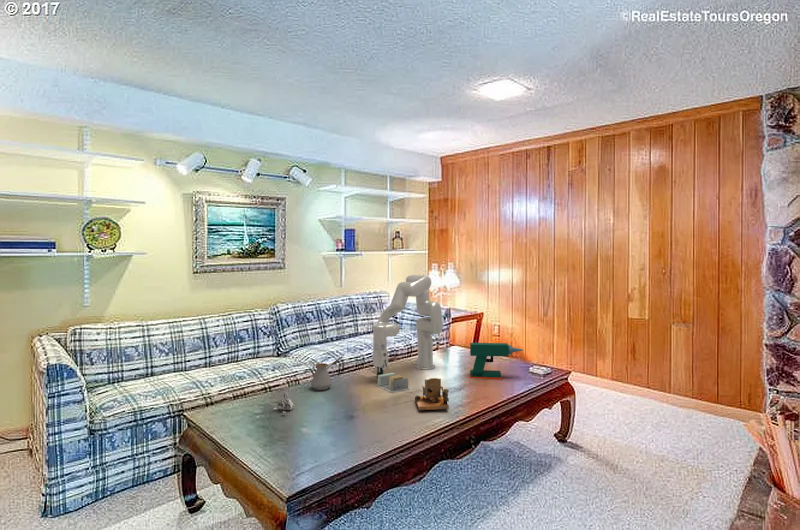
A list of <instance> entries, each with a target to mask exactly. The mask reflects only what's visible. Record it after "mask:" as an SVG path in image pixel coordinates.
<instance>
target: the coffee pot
mask: <svg viewBox="0 0 800 530" xmlns="http://www.w3.org/2000/svg"><path fill="white" fill-rule="evenodd" d="M341 359H342V360H345V357H344V356H340V357H338V358H337V359H335V360H334V361H333V362H332V363H331V364H329V365H328V363H322V362H320V363H316V364H315V367H316V370H315V372H314V374H313V377H312V379H311V382H310V385H311V387H312V388H313V389H314V390H316V391H326V390H327V389H329V388H330V387H331V386H332V385H333V381H332V379H331V376H330V374H329V371H328V369H330V368H331V367H332V366H333V365H335V364H336V363H338V362H339V361H341Z"/></svg>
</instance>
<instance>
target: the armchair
mask: <svg viewBox="0 0 800 530" xmlns="http://www.w3.org/2000/svg"><path fill="white" fill-rule="evenodd" d="M449 394H450V393H449V388H447V387H446V388H444V387H443V386H442V379H441V378H439V377H432V378H425V379H424V385H422V395H423V396H419V395H415V396H414V401H415V403H416V406H417V409H418V411H425V410H428V411H429V410H449V408H450V407H449V404H448V403H449V400H450V398H449Z"/></svg>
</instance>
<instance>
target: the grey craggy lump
mask: <svg viewBox="0 0 800 530" xmlns="http://www.w3.org/2000/svg"><path fill="white" fill-rule="evenodd" d="M294 408H295V404H294V403H293V401H292V400H291V398H289V394H288V392H287V391H285V392H283V397H282V398H281V400H280V402H278V405H277V407H273V408H272V409H274V410H276V409H280V411H282V410H283V411H282V413H284V414H285V413H287V412H286V411H285V410H293V409H294Z"/></svg>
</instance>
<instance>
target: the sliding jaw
mask: <svg viewBox="0 0 800 530" xmlns="http://www.w3.org/2000/svg"><path fill="white" fill-rule="evenodd" d="M395 375H396V373H395V372H390V373H389V372H388V373H383V374H382V375H378V379H377V384H378V385H384V384H389V376H395Z"/></svg>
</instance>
